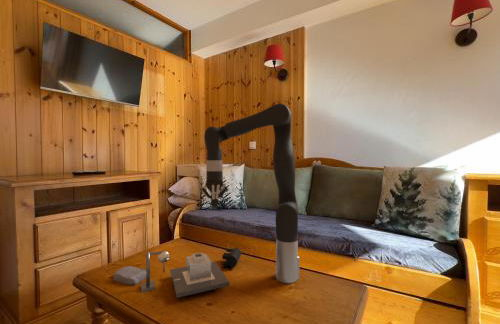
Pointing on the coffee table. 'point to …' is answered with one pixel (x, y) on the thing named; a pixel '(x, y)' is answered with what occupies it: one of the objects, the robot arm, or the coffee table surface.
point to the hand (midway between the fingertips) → (214, 206)
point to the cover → (198, 267)
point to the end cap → (231, 258)
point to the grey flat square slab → (187, 288)
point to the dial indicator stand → (149, 284)
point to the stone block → (130, 275)
